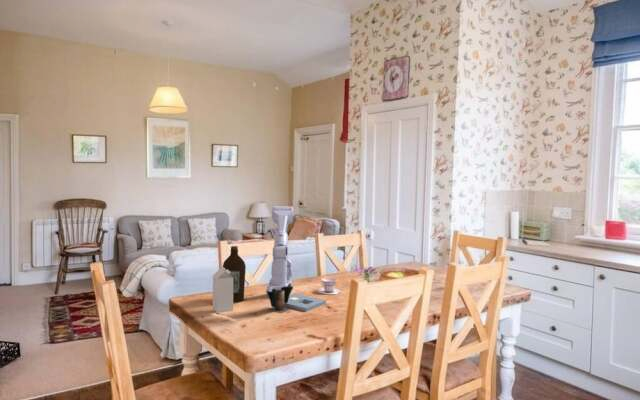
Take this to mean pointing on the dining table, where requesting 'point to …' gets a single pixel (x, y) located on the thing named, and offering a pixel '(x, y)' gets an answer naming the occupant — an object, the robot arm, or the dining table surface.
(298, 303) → the hole plate
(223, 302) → the milk carton
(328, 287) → the teacup
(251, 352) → the dining table surface
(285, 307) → the pad
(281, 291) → the walnut peg
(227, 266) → the olive oil
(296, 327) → the dining table surface
